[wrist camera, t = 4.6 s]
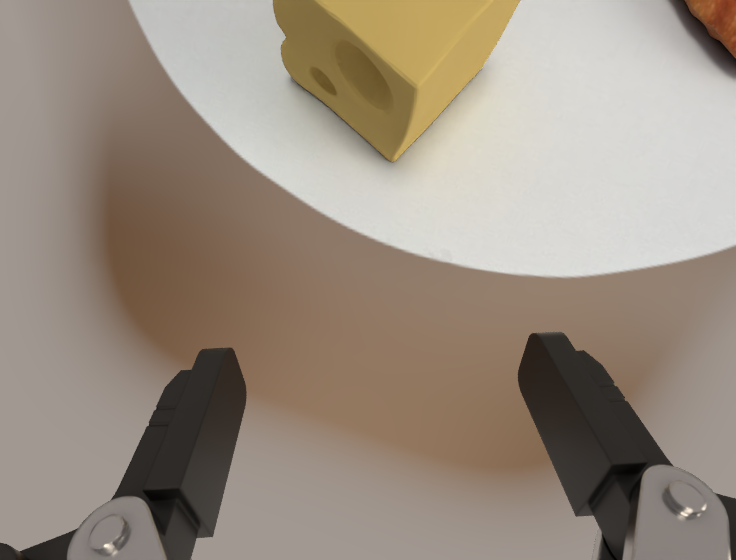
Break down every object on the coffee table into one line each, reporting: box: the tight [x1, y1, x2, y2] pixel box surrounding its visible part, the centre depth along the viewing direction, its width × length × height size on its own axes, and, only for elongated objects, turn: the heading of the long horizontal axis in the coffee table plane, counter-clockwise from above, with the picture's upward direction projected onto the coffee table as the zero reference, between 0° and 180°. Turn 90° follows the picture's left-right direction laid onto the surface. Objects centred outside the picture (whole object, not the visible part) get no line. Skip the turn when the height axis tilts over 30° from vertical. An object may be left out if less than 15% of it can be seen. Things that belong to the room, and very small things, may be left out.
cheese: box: [273, 0, 520, 162], centre depth 23 cm, size 10×11×10 cm
